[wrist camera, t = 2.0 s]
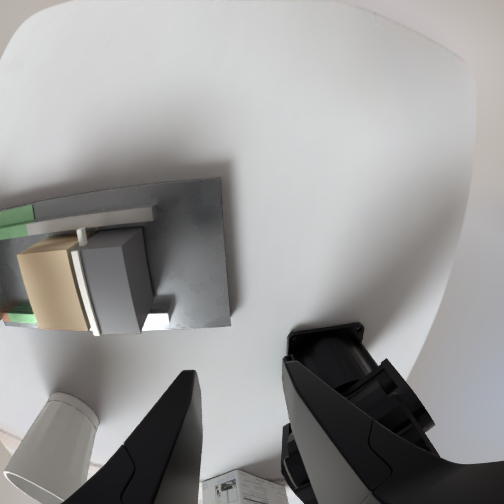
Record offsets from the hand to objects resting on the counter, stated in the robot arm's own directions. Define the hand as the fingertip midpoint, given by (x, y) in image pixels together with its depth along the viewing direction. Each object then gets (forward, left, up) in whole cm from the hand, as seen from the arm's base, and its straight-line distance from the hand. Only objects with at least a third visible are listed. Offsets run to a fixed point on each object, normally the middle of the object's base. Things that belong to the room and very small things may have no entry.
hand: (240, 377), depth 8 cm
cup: (+19, +17, -12) cm, 28 cm away
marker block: (+11, 0, -11) cm, 15 cm away
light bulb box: (+1, +34, -12) cm, 36 cm away
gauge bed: (+11, 0, -12) cm, 16 cm away
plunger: (+7, 0, -11) cm, 12 cm away
